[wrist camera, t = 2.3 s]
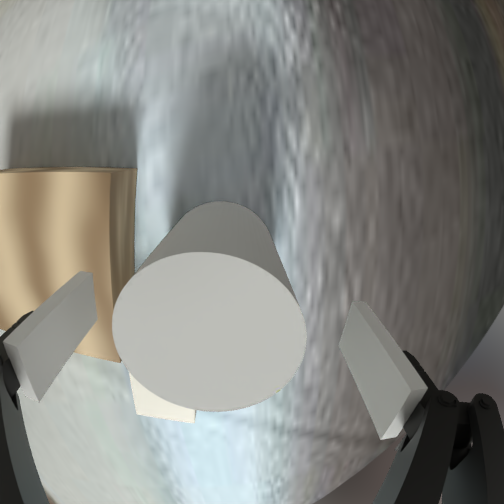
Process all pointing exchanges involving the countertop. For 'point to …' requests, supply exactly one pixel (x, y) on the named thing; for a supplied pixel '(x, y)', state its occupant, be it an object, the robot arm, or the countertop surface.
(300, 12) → the countertop surface
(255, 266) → the grey cylinder
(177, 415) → the cream block
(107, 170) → the oak block
